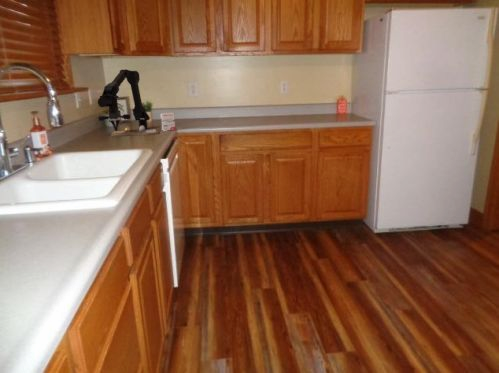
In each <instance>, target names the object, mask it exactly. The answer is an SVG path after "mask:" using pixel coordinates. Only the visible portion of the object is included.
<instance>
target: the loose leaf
mask: <svg viewBox="0 0 499 373" xmlns="http://www.w3.org/2000/svg"><path fill="white" fill-rule="evenodd" d="M130 130H132V129H131V127H130V126H126V127H124V130H117V131H114V132H113V131H112V134H113V133H129V132H130Z"/></svg>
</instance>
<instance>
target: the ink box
mask: <svg viewBox="0 0 499 373" xmlns="http://www.w3.org/2000/svg"><path fill="white" fill-rule="evenodd" d="M159 116H160V124H161V125H160V126H161V131H162V130H163V131H162V132H168V131H167V130H174V132H175V131H176V130H177V129H176V119H175V118H176V117H175V113H174V112H165V113H164V112H163V113H160V115H159Z"/></svg>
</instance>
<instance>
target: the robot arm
mask: <svg viewBox="0 0 499 373" xmlns="http://www.w3.org/2000/svg"><path fill="white" fill-rule="evenodd" d="M125 79H126V81H127V82H128V84H129V85H130V88H131V89H130V90H131V93H132V98H133V104H134V107H133V108H132V115H133V118H134V120H135V121H138V128H139V127H140V126H141V125H143V126H144V127H145V130H149V126H148V121H150V118H151V117H150V115H149V114H148V113H147V109H146V108H145V107H144V106H143V103H142V98H141V93H140V87H139V82H140V73H139V72H138V71H137V70H129V69H120V70H119V73H118V74H117V75H116V76H115V77H114V79H113V80H112V81H111V82H109V83H108V84H106V85H104V89H103V91H102V93H101V94H102V95H100V96H99V98H98V100H97V105H98V107H100V108H108V115H106V114H103V115H99V116H98V122H102V121H103V122H104V121H105V120H107V121H108V122H110V123H111V125H112V126H113V128H114V130H115V131H118V130H119V129H118V128H119V125H120V124H119V123H120V122H121V121H122V119H124V120H130V119H131V114H130V113H124V114H121V110H119V103H118V99H120V97H119V95H118V94H119V91H120V87H121V85H122V83H123V82H124V81H125Z"/></svg>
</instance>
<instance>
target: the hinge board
mask: <svg viewBox="0 0 499 373" xmlns="http://www.w3.org/2000/svg"><path fill="white" fill-rule="evenodd" d="M113 132H114V131H112V133H111V134H110V135H111V136H112V138H116V137H118V138H119V137H133V136H134V137H135V136H149V135H148V134H151V135H159V130H158V129H154V128H153V129H145V127H144V126H143V125H141V126H140V127H139V126H138V130H137V129H131V130H130V132H129V133H113Z"/></svg>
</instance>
